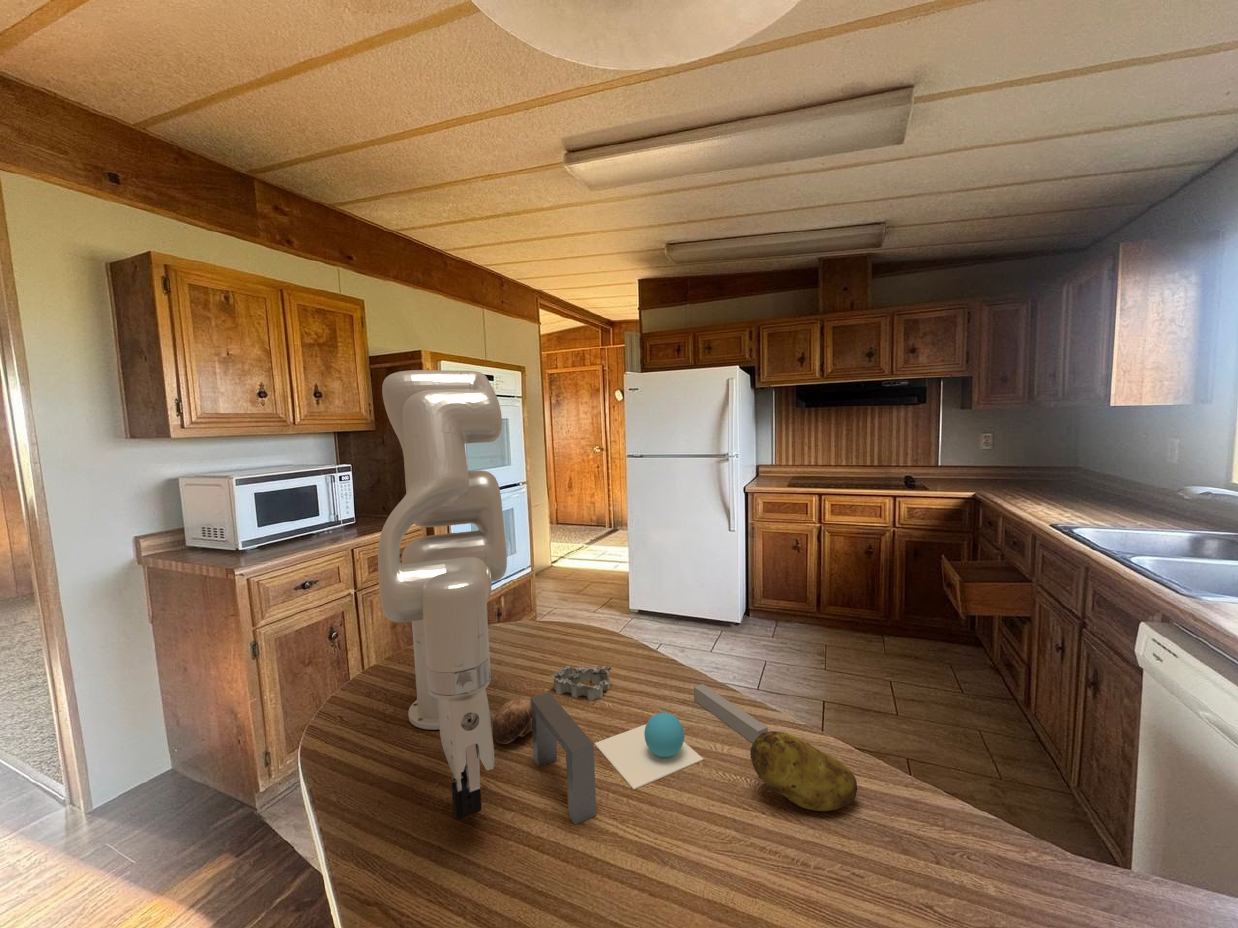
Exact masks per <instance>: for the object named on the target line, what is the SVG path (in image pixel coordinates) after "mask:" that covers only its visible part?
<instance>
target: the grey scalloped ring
mask: <svg viewBox="0 0 1238 928" xmlns="http://www.w3.org/2000/svg"><path fill="white" fill-rule="evenodd" d="M612 670H613V669H612V667H611V666H608V665H605V666H604V665H600V666H599V665H598V666H597V668H595V667H590V668H589V667H585V666H580V667H579V666H578V667H572V666H570V665H565V666H564V667H563V666H562V667H561V668H560V669H559V670H557V671H555V672H554V673H553V674H551V675H550V677H551V678H552V679H553V686H554V687H553V689H554V690H555V691H556V693H555V694H557V695H562V694H565V693H570V694H571V697H572V698H578V697H579V696H585V697H587V700H588V701H594V700H596V699H597V700H598V699H602V698H603V696H604V693H603V692H604V691H609V689H611V682H610V681H611V679H610V678H611V677H610V676H609V675H610V674H611V671H612ZM587 681H589V682H590V681H591V683H592V685H593V686H588V684H583V682H587Z"/></svg>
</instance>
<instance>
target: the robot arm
mask: <svg viewBox="0 0 1238 928" xmlns="http://www.w3.org/2000/svg"><path fill="white" fill-rule="evenodd" d="M381 388H382V390H381V391H382V400H383V404H384V408H385V411H386V414H387V417H388V419H389V423H390V424H391V426H392V429H393V431H394V433H395V434H396V436H397V439H398V441H399V444H400V446H401V450H402V455H403V463H404V467H403V468H404V478H405V490H406V494H405V495H404V497H403V498H402V499H401V500H400V501H399V502H398V504H397V505H396V506H395V507H394V509H393V510H392V511H391V512H390V514H389V516H388V517H387V519H386V521H385V522H384V524H383V527H382V531H381V533H380V535H379V540H378V547H377V565H378V566H377V569H378V590H379V592H378V593H379V594H378V595H379V602H380V607H381V610H382V613H383V614H384V616H385V618H387V620H389V621H391V622H393V623H397V624H398V623H400V624H401V623H402V624H404V623H411V627H412V628H411V631H412V641H413V642H412V643H413V656H414V657H413V658H414V669H415V671H414V673H415V674H414V675H415V686H416V689H415V690H416V699H415V701H414V702H413V703H412V704H411V705H410V706H409V708H408V712H407V713H408V720H409V722H410V724H411V725H413V726H414V727H416V728H419V729H421V730H422V729H423V730H433V731H434V730H439V735H440V740H441V741H440V742H441V745H442V750H443V751H444V755H445V758H446V761H447V763H448V767H449V769H450V771H451V772H450V773H451V778H452V783H451V795H452V796H451V797H452V812H453V814H454V817H455V819H456V820H457V821H459V820H462V819H464V818H467V817H470V816H472V815H475V814H478V813H480V812H481V811H482V807H483V806H482V794H481V793H482V792H481V775H480V771H481V770H480V762H481V764H482V765H483V766H484V769H485V770H486V771H492V770H494V768H495V766H496V759H495V749H494V740H493V739H494V738H493V726H492V721H491V719H492V718H491V712H490V705H489V698H488V694H487V689H486V688H488V686H489V685H490V684H491V680H492V676H491V675H492V674H491V658H490V657H491V656H490V645H489V643H490V641H489V623H488V606H487V604H488V598H489V597H490V596H491V593H492V586H493V583H494V582H497V581H499V580H501V579H503V577H504V576H505V574H506V571H507V569H508V568H507V567H508V555H507V544H506V543H507V542H506V535H505V534H506V533H505V523H504V512H503V504H502V503H503V502H502V495H501V489H500V486H499V483H498V480H497V479H496V477H495V476H494V474H492V473H491V472H489V471H486V470H469V469H468V461H467V453H466V445H465V444H483V443H484V444H485V443H493V442H495V441H496V440H498V438H499V437H500V434H501V432H502V429H503V419H502V418H503V417H502V409H501V405H500V402H499V400H498V396H497V394H496V392H495V390H494V388H493V386H492V385H491V382H490V381H489V379H488V377H487V376H486V375H485V373H483V372H480V371H478V370H439V369H435V370H434V369H430V370H429V369H414V370H413V369H411V370H403V371H397V372H394V373H391V374H388V375H387V376H386V377H385V378H384V380H383V383H382V387H381ZM467 524H468V525H469V524H470V525H471V524H472V525H475V526H476V527H477V529H478V530H471V531H461V532H460V531H459V532H450V533H449V532H447V533H439V534H433V535H426V536H422V537H419V538H416V539H414V540H412V541H410V542H409V543H408V544H407V545H406V546H405V547H404V549H403V552H402V557H400V555H401V554H400V551H401V544H402V540H403V538H404V536H405V534H406V532H407V531H408V530H409V529H410V528H411V527H412V526H414V525H416V526H418V527H420V528H421V527H422V528H437V527H440V528H441V527H449V526H458V525H467ZM400 558H401V559H400Z"/></svg>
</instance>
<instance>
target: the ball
mask: <svg viewBox="0 0 1238 928" xmlns="http://www.w3.org/2000/svg"><path fill="white" fill-rule="evenodd" d="M645 725H646V727H645V732H644V736H645V741H646V744H647V746H648V748H649V749H650V750H651V751H652V752H653V753H654V754H655V755H657V756H660V757H671V756H673V755H675V754H676V753H677V752H678V751H679V750H680V749H681V747H682V745H683V742H685V731H684V727H683V725H682V722H681V721H680V720H679V718H677V717H676V716H675V715H673V714H672V713H669V712H659V713H656V714H654V715H652V716H651V717H650V718H649V720H647V722H646V723H645Z"/></svg>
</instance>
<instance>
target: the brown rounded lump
mask: <svg viewBox="0 0 1238 928" xmlns="http://www.w3.org/2000/svg"><path fill="white" fill-rule="evenodd" d="M492 722H493V723H492V733H493V736H494V739H495V741H496V742H497V743H498V744H503V745H507V744H509V743H512V742H514V741H515V740H516V739H517V738H518V737H521V738H522V737H524V736H526V735H527V734H529V733H530V732H532V716H531V699H528V698H521V697H519V698H512V699H511V700H509V701H506V702H505V703H504V704H503V705H502V706H501V707H500V708H499V709H498V711H497V712H496V714H495V716H494V719H493V721H492Z"/></svg>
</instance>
